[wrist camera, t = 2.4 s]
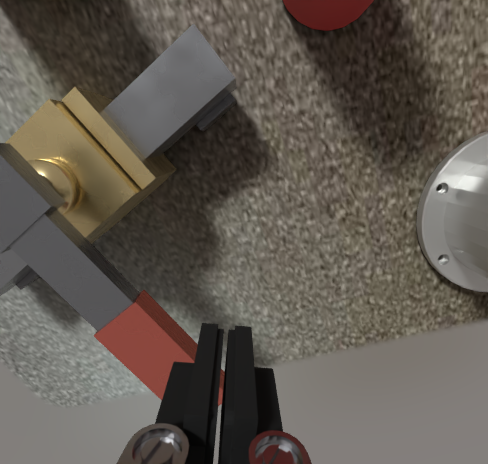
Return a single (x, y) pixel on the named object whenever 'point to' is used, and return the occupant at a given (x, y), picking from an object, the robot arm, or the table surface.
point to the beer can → (326, 12)
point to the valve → (120, 140)
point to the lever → (87, 277)
